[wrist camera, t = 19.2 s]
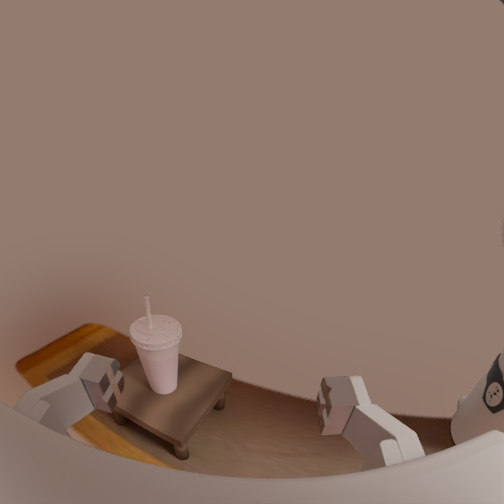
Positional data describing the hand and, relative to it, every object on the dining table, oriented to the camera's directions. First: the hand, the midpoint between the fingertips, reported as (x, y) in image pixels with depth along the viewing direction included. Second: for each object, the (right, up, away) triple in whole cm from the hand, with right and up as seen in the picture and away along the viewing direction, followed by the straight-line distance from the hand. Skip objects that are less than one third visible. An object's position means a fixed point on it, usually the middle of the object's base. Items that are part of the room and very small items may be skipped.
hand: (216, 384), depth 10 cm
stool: (-11, -19, +26) cm, 34 cm away
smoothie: (-11, -13, +24) cm, 29 cm away
